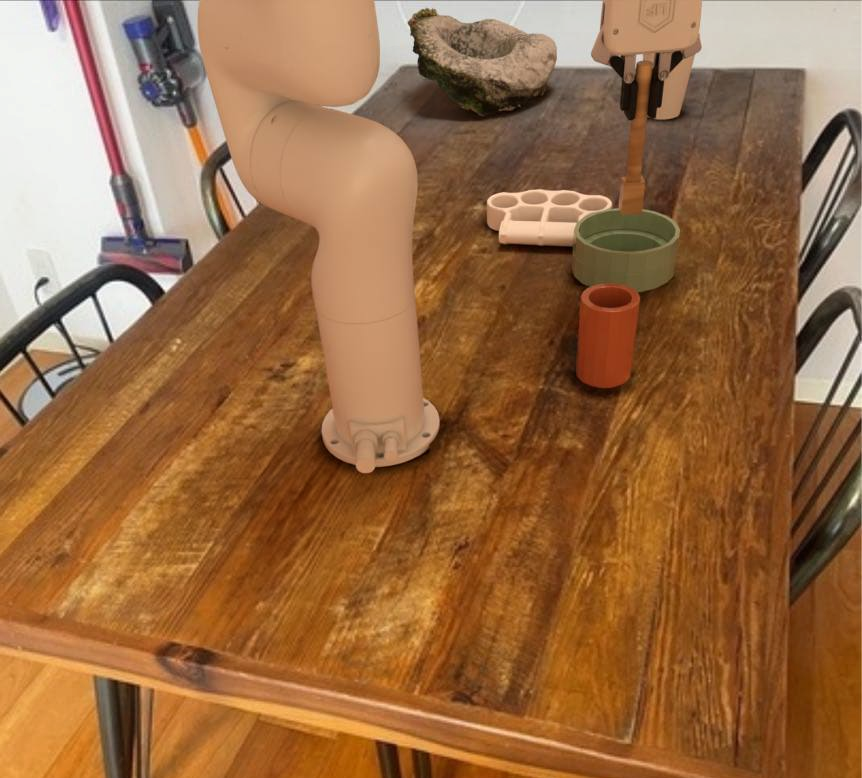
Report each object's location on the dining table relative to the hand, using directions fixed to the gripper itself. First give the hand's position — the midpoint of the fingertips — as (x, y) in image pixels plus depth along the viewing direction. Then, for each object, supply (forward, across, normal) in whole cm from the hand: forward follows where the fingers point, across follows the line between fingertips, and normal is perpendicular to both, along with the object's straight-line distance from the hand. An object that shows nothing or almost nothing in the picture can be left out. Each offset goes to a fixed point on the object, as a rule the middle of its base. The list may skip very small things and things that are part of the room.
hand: (639, 114), depth 100 cm
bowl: (+20, 0, 0) cm, 20 cm away
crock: (+20, -7, -24) cm, 32 cm away
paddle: (+12, 0, 0) cm, 12 cm away
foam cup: (+21, +19, +59) cm, 65 cm away
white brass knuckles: (+20, -8, +15) cm, 26 cm away
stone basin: (+20, -12, +77) cm, 80 cm away
